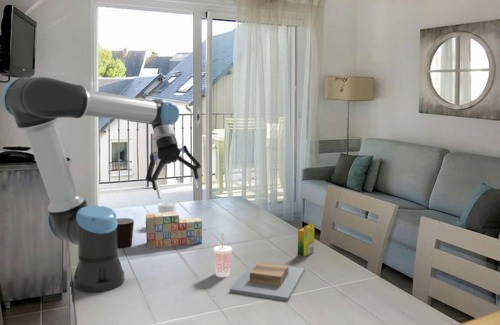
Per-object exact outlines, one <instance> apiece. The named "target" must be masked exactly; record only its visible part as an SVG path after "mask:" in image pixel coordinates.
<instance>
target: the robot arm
mask: <svg viewBox="0 0 500 325" xmlns="http://www.w3.org/2000/svg"><path fill="white" fill-rule="evenodd" d="M1 102H2V105H3V108H4V109H5V111H7V113H9V114H10V115H12V116H13V119H14V121H15V124H16V126H17V128H18V129H19V130H21V131H24V132H25V134H26V138H27V140H28V143H29V146H30V148H31V151H32V154H33V158H34V160H35V162H36V165H37V168H38V171H39V174H40V176H41V179H42V182H43V185H44V187H45V190H46V193H47V196H48V199H49V202H50V203H49V204H48V206H47V211H48V216H47V218H46V223H47V227H48V229H49V231H50V232H51V234H52V235H54V236H55V237H57V238H58V239H60V240H62V241H65V242H68V243H71V244H73V245H77V253H78V262H77V265H76V269H75V272H74V275H73V287H74V288H75V290H78V291H80V292H85V293H86V292H87V293H99V292H106V291H110V290H113V289H115V288H118V287H120V286H121V285H122V284H123V283H125V272H124V270H123V268H122V264H121V261H120V259H119V253H118V252H119V251H118V250H119V248H118V243H117V219H118V218H117V213H116V212H115V211H114V210H113V209H112V208H110V207H108V206H104V205H101V206H100V205H88V203H87V201H86V198H85V196H84V195H82V194H81V193H78V189H77V187H76V183H75V180H74V176H73V174H72V171H71V168H70V165H69V161H68V159H67V156H66V152H65V149H64V147H63V143H62V139H61V138H60V136H59V132H58V129H57V125H56V123H57V122H58V120H59V119H61V118H70V119H71V118H73V119H81V118H82V117H84V116H85V117H86V116H87V117H93V118H94V117H95V118H103V119H111V120H112V119H113V120H121V121H129V122H131V123H139V124H140V123H141V124H147V125H151V127H152V131H153V136H154V139H155V145H156V148H157V154H150V155H149V159H150V161H149V164H148V169H147V172H146V176H145V181H146V182H148V183H151V185H152V189H153V190H154V191H156V194H157V198H158V199H159V200H162V194H161V189H160V184H159V181H158V180H157V179H158V178H159V176H160V174H161V172H162V171H163V168H164V167H165V166H166V164H167V165H169V164H171V163H176V162H177V161H179V162H180V163H182V164H183V165H184V166H186V167H188V168H189V169H191V170H190V172H191V177H192V181H193V184H194V188H195V189H196V190H198V189H199V186H198V182H197V180H198V179H199V174H198V170H199V169H200V168H201V167H202V165H201V164H200V162H199V161H198V160H197V159H196V158H195V157H194V156H193V155H192V153H191V152H190V151H189V149H188V147H187V146H186V145H183V146H182V147H179V144H178V141H177V138H176V133H175V129H174V124H176V123H177V122H178V120H179V117H180V110H179V109H180V108H178V105H177V104H176V103H174V102H168V101H167V100H166V99H163V98H154V99H146V98H138V97H135V96H134V97H133V96H127V95H120V94H114V93H108V92H102V91H97V90H90V89H89V90H88V89H87V88H86V87H85V86H83V85H81V84H76V83H70V82H67V81H64V80H59V79H55V78H52V77H46V76H38V77H37V76H36V77H31V76H24V77H19V78H14V79H13V80H10V81H9V82H8V83H7V84H6V85H5V87H4V89H3V90H2V94H1ZM181 152H182V153H183V154H185V155H186V156H187V157H188V158H189V159H190V161H191V162H192V163H193V164H192V163H191V162H189V161H188V160H186V158H185V159H184V157H182V156H180V155H181ZM158 159H159V163H158V164H157V167H156V168H155V165H156V161H157V160H158ZM154 169H155V170H154Z"/></svg>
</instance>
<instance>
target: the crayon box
mask: <svg viewBox="0 0 500 325" xmlns="http://www.w3.org/2000/svg"><path fill="white" fill-rule="evenodd" d="M313 253H315V222H312V223H309V224H307V225H305V226H303V228H300V229H298V230H297V256H298V257H303V258H305V257H306V256H309V255H311V254H313Z"/></svg>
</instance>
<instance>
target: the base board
mask: <svg viewBox="0 0 500 325" xmlns="http://www.w3.org/2000/svg"><path fill="white" fill-rule="evenodd" d="M258 262H259V261H258ZM258 262H257V261H252V263H251V265H250V266H248V267H247V269H246V270H245V271H244V272H243V273H242V274H241V275H240V277H239V278H238V279H237V280H236V281H235V282H234V283H233V285H232V286H231V287H230V288H229V292H230V293H234V294H241V295H248V296H252V297H253V296H254V297H260V298H266V299H272V300H273V299H274V300H279V301H286V302H289V300H290V298H291V297H292V295H293V293H294V291H295V289H296V288H297V285H298V284H299V283H300V281H301V279H302V277H303V275H304V273H305V268H304V267H298V266H289V267H288V276H287V277H286V279H285V280H284V282H283V283H282V285H281V286H275V285H268V284H261V283H254V282H250V272H251V271H252V269H253V268H254V267H255V266H256V265H257V264H258Z"/></svg>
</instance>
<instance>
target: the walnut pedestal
mask: <svg viewBox="0 0 500 325" xmlns="http://www.w3.org/2000/svg"><path fill="white" fill-rule="evenodd" d="M288 267H289V265H287V264H280V263H271V262H265V261H263V262H262V261H258V264H257V265H256V266H255V267H254V268H253V269H252V271H251V272H250V282H254V283H261V284H268V285H275V286H281V285H282V283H283V282H284V280H285V279H286V277H287V276H288Z"/></svg>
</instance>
